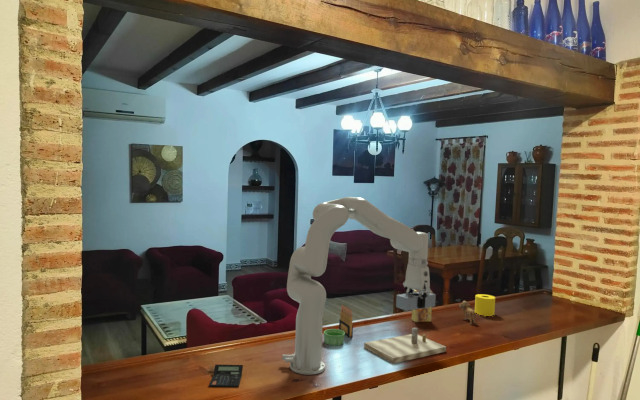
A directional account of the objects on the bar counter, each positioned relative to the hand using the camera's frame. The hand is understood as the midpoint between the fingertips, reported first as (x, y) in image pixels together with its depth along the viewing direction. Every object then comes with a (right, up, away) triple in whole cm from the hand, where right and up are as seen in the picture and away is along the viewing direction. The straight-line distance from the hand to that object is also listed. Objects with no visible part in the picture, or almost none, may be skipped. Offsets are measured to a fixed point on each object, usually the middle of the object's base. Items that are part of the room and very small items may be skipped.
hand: (415, 305), depth 185 cm
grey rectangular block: (0, -1, 0) cm, 1 cm away
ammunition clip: (-28, -16, +15) cm, 36 cm away
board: (-5, -18, -2) cm, 18 cm away
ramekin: (-34, -17, +3) cm, 38 cm away
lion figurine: (+35, -18, +42) cm, 58 cm away
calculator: (-71, -17, -36) cm, 81 cm away
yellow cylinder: (+49, -18, +57) cm, 77 cm away
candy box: (+11, -17, +39) cm, 44 cm away
